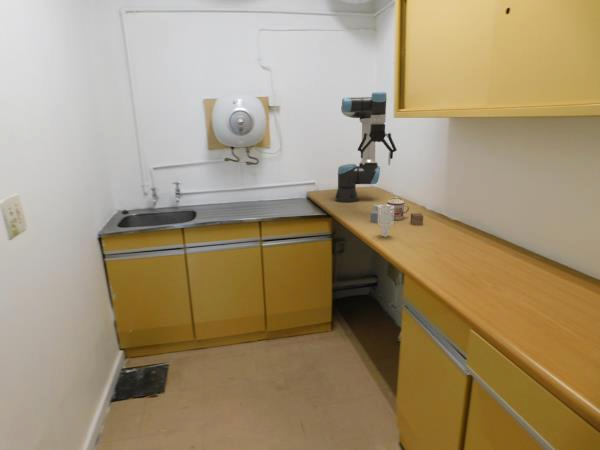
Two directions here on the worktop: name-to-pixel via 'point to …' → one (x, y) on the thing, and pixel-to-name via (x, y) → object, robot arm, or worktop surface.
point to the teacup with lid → (398, 208)
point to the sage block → (376, 207)
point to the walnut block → (416, 219)
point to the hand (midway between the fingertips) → (376, 164)
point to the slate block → (374, 217)
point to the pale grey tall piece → (385, 218)
